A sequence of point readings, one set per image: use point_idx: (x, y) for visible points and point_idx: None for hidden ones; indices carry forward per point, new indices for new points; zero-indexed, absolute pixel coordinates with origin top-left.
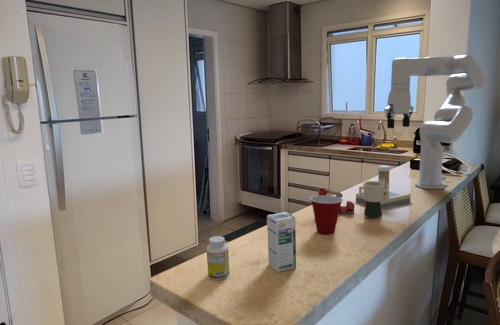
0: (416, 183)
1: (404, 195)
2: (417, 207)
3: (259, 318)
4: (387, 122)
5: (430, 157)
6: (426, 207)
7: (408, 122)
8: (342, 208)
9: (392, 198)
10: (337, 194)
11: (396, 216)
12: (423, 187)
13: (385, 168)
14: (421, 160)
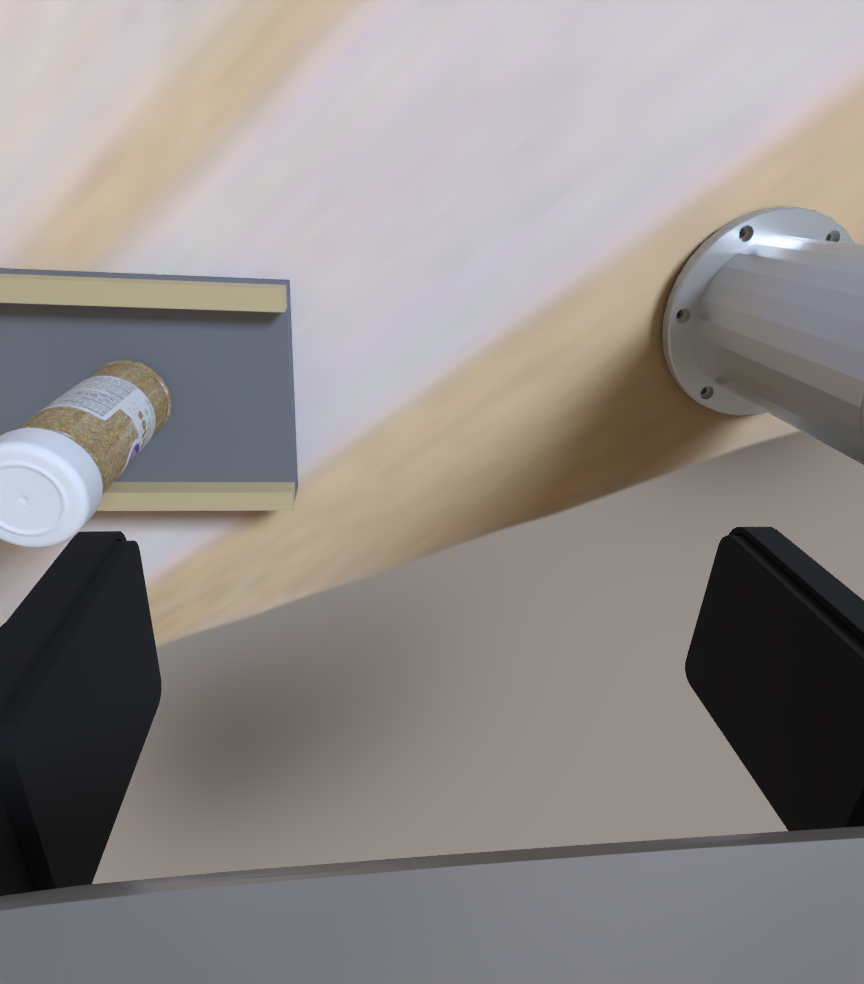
0: (715, 247)
1: (229, 509)
2: (247, 567)
3: None
4: (4, 631)
5: (850, 432)
6: (291, 589)
7: (748, 753)
8: None
9: (106, 509)
10: None
11: (17, 606)
12: (663, 334)
13: (3, 535)
14: (847, 317)
